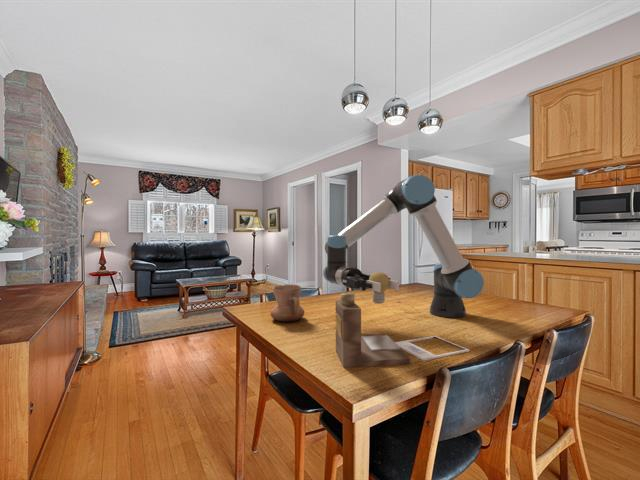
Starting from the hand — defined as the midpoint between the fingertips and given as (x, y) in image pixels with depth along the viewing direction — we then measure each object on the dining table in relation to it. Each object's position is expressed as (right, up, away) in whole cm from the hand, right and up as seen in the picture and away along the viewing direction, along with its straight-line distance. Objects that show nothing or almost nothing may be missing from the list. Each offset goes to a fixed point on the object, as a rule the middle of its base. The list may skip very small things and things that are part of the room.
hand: (388, 286), depth 96 cm
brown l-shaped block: (-7, -20, +1) cm, 21 cm away
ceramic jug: (-35, -20, +37) cm, 55 cm away
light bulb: (-2, -6, +5) cm, 8 cm away
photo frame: (+14, -21, +4) cm, 25 cm away
